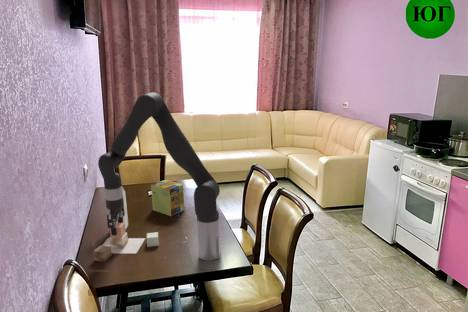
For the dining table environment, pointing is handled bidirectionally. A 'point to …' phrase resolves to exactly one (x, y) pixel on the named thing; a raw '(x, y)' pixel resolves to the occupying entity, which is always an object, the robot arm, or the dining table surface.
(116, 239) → the birch block
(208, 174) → the robot arm
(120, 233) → the terracotta block
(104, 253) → the walnut block
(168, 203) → the protein box
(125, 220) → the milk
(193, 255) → the dining table surface
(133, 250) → the mat
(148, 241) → the sage block
